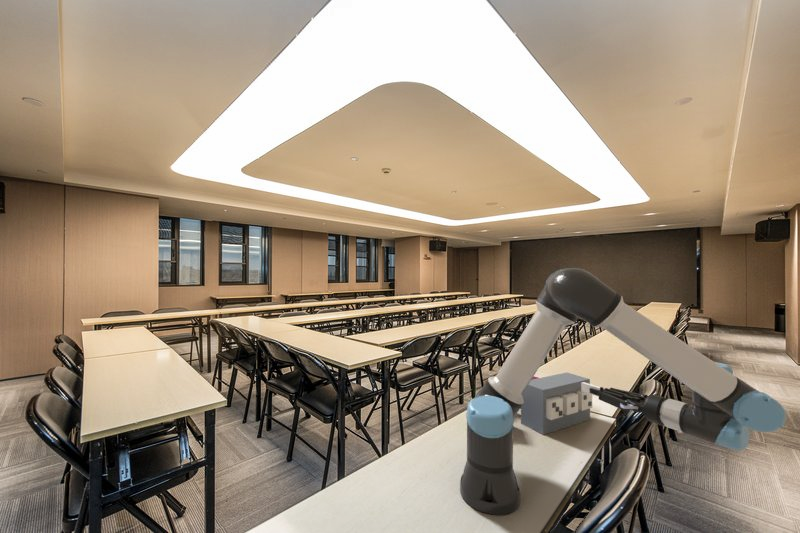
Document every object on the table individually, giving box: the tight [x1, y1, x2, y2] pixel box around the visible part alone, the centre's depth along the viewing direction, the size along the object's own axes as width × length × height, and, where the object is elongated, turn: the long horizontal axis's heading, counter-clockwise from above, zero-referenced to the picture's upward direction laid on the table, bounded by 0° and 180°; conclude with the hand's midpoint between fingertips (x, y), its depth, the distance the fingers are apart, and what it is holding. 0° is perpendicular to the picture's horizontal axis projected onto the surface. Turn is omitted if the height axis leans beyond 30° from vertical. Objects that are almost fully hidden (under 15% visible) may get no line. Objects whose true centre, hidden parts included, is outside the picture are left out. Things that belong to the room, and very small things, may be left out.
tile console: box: [520, 372, 591, 436], centre depth 128 cm, size 28×10×16 cm, turn 118°
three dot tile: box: [546, 396, 563, 420], centre depth 119 cm, size 7×3×7 cm, turn 118°
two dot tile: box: [577, 390, 593, 411], centre depth 127 cm, size 7×3×7 cm, turn 118°
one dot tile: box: [562, 392, 578, 415], centre depth 123 cm, size 7×3×7 cm, turn 118°
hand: (582, 386), depth 109 cm, fingers closed
